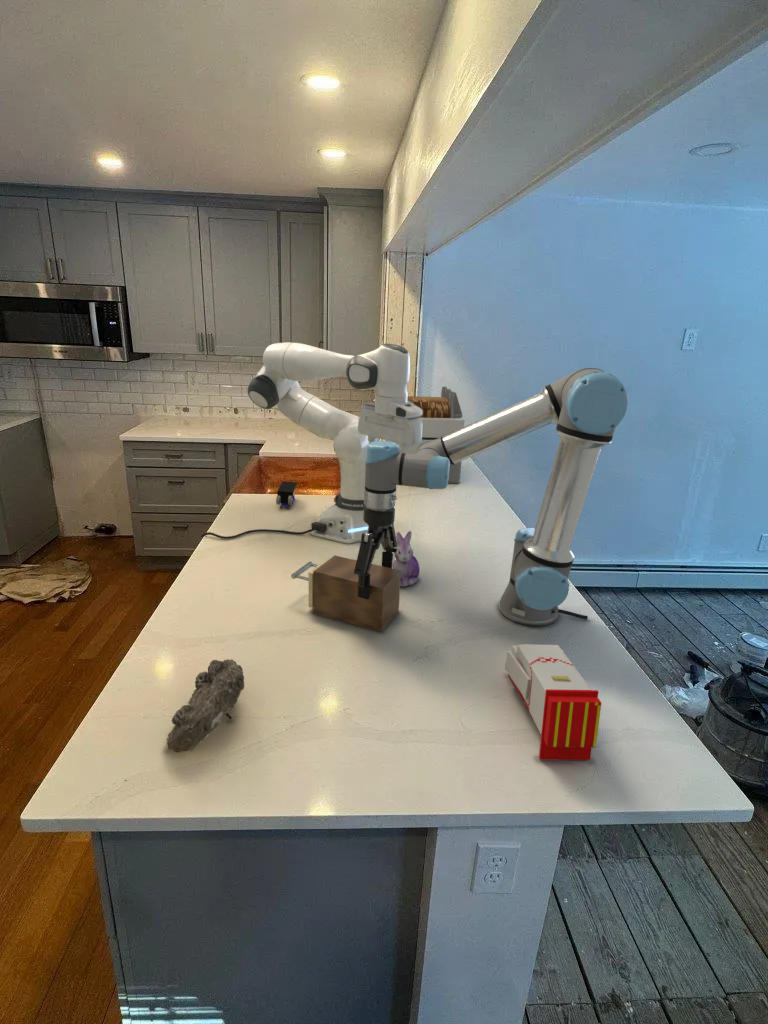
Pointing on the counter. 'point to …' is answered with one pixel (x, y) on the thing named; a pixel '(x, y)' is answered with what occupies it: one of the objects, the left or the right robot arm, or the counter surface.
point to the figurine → (406, 560)
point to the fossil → (206, 705)
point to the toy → (556, 700)
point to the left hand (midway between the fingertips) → (387, 455)
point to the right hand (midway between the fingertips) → (375, 586)
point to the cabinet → (356, 594)
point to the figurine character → (286, 494)
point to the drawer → (308, 579)
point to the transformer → (439, 422)
